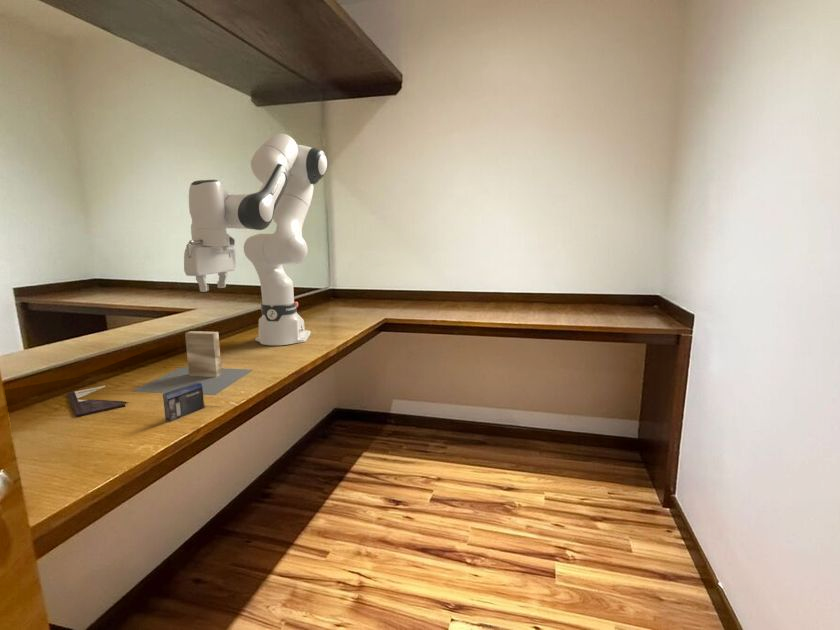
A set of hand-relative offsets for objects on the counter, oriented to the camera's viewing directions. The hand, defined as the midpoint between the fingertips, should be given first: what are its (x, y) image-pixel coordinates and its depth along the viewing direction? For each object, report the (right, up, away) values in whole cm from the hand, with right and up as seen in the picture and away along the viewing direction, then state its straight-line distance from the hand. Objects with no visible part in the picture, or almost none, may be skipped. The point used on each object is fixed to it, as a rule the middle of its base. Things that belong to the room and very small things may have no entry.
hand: (213, 289), depth 122 cm
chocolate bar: (-19, -28, -19) cm, 39 cm away
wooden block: (-1, -24, -3) cm, 24 cm away
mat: (-1, -25, -6) cm, 26 cm away
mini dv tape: (+7, -29, -27) cm, 40 cm away
